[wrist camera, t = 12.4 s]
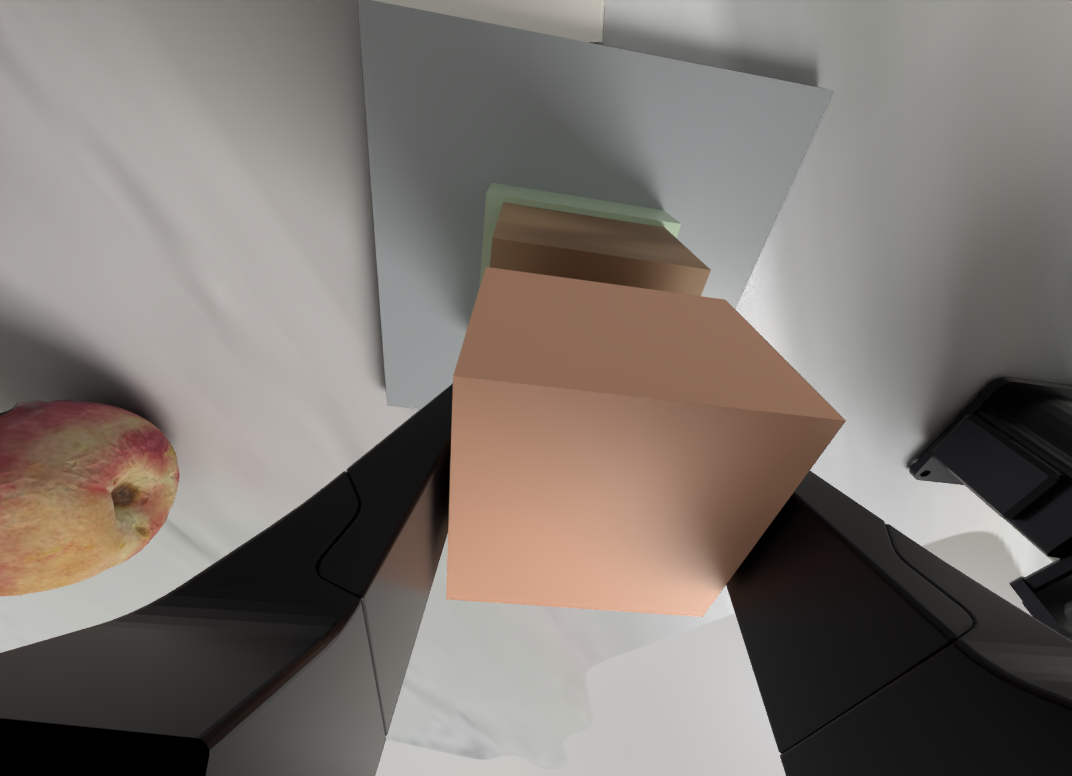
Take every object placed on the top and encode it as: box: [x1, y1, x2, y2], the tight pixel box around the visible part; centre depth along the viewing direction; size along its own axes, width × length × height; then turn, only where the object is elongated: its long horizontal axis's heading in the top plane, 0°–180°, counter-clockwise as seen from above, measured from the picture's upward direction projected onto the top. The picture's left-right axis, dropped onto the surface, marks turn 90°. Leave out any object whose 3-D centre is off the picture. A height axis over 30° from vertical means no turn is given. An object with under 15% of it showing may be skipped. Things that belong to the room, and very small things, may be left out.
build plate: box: [357, 0, 834, 409], centre depth 15 cm, size 14×14×3 cm
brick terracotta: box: [446, 267, 846, 617], centre depth 8 cm, size 5×5×4 cm
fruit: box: [0, 400, 179, 596], centre depth 17 cm, size 8×8×8 cm
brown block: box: [490, 202, 711, 296], centre depth 12 cm, size 5×5×4 cm
